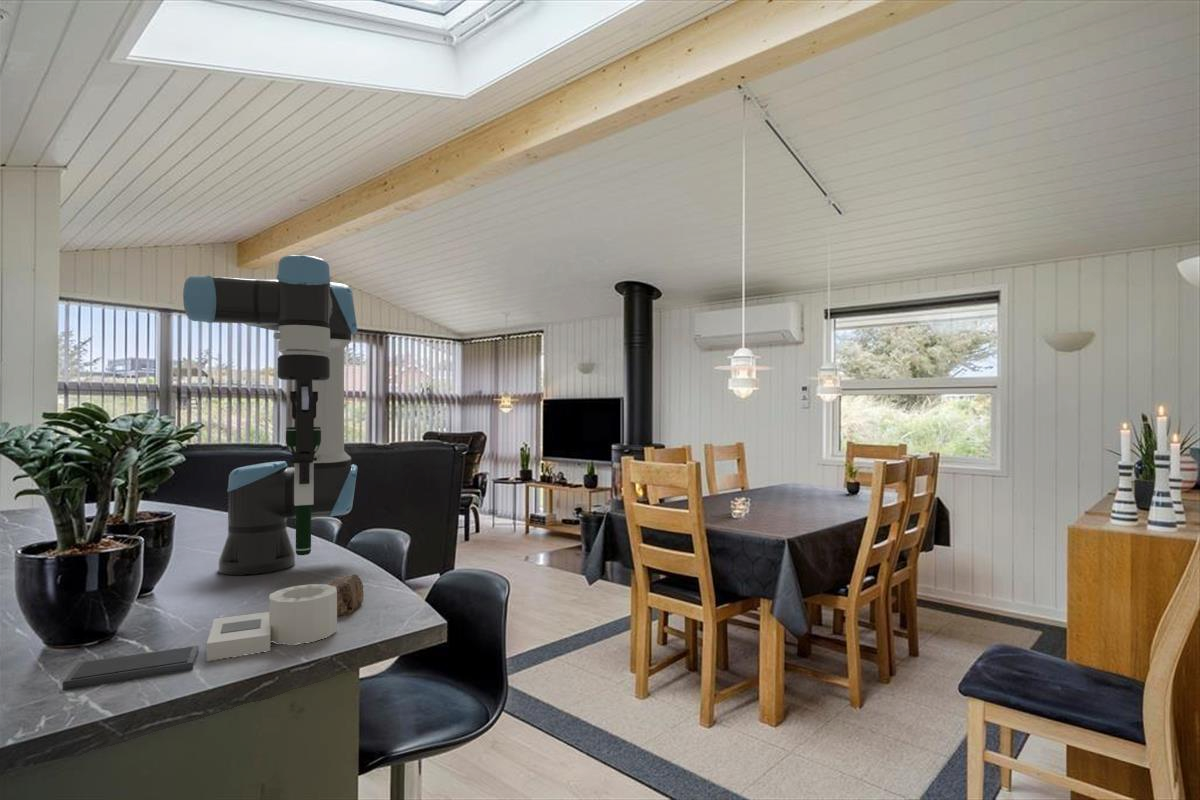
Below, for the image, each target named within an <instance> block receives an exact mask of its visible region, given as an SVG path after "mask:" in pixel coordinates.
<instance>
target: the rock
mask: <svg viewBox="0 0 1200 800" xmlns="http://www.w3.org/2000/svg"><path fill="white" fill-rule="evenodd" d="M327 585H331V586H335V587H336V589H337V617H338V615H341V616H344V615H343V614H347V615H350V614H351V613H353V612H354V611H355V610H357V608H359V606H361V604H362V601H363V598H364V585H363V580H362V578H361V577H359V575H358V574H357V573H352V574H349V575H345V576H340V577H339V578H335V579H334V580H332V581H331V582H329V583H328V584H327ZM354 609H355V610H354ZM353 610H354V611H353ZM349 613H350V614H349Z"/></svg>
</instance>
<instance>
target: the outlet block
mask: <svg viewBox="0 0 1200 800" xmlns="http://www.w3.org/2000/svg"><path fill="white" fill-rule="evenodd" d="M268 600H269V602H268V603H269V611H265V612H258V613H250V614H241V615H234V616H226V617H219V618H218V617H217V618H214V619H213V623H212V626H211V629H210V632H209V634H208V638H207V641H206V662H211V661H210V660H213V661H218V660H217V659H219V660H224V659H223V658H226V659H230V658H229V657H232V658H235V657H234V656H239V657H241V656H240V655H244V654H251V653H257V652H264V651H270V652H271V647H270V646H271V645H272V642H271V641H274V642H276V643H278V644H284V643H285V644H297V643H306V642H313V643H315V642H314V641H317V640H320V639H323V640H325V639H324V638H326V639H328V638H327V637H329V636H330V635H332V634H333V633H334V634H336V633H337V632H338V616H337V589H336V587H335V586H331V585H328V584H324V583H322V584H321V583H318V584H317V583H311V584H301V585H293V586H290V587H285V588H282V589H278V590H276V591H274V592H272V593H269V599H268ZM336 631H337V632H336ZM335 632H336V633H335ZM334 634H333V635H334ZM333 635H332V636H333ZM330 637H331V636H330ZM330 637H329V638H330ZM320 641H321V640H320ZM317 642H318V641H317ZM278 644H277V645H278Z"/></svg>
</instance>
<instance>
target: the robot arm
mask: <svg viewBox="0 0 1200 800" xmlns="http://www.w3.org/2000/svg"><path fill="white" fill-rule="evenodd" d="M277 267H278V268H277V275H276V279H254V278H253V279H252V278H251V279H250V278H242V277H241V278H240V277H239V278H237V277H226V276H225V277H224V276H211V275H205V276H204V275H203V276H202V275H198V276H197V275H192V276H189V277H187V279H186V280H185V282H184V284H183V291H182V294H183V295H182V300H183V309H184V312H185V315H186V317H187V318H188V319H189V320H190V321H192V322H202V323H208V324H211V323H215V324H216V323H217V324H218V323H220V324H222V323H223V324H244V325H246V326H249V327H256V328H259V329H265V330H270V331H275V332H274V333H273V339H276V340H278V341H277V351H278V352H279V353H281V354H282V355H279V356H278V357H277V378H278V379H279V380H283V381H295V391H294V390H293V391H290V392H289V393H290V394H289V398H290V399H289V400H290V401H289V402H290V403H291V417H292V419H293V420H294V427H295V428H296V454H295V457H294V456H293V459H290V460H289V461H290V462H289V463H290V464H293V466H290V467H288V463H287V461H286V460H280V461H270V462H263V463H256V464H250V465H245V466H241V467H237V468H234V469H232V471H230V473H229V475H228V484H227V485H228V487H227V491H226V492H227V501H228V502H227V520H228V521H227V525H228V527H227V528H228V529H227V537H226V540H225V543H224V545H223V549H222V552H221V554H220V557H219V560H218V572H219V573H220V574H224V575H230V576H244V575H245V574H251V575H260V574H259V573H261V574H267V573H273V572H278V571H280V570H281V571H282V570H286V569H288V568H290V567H292V566H294V565H295V563H296V552H295V550H294V547H293V545H292V542H291V540H290V539H291V538H290V537H289V533H288V530H287V520H288V519H296V506H298V505H311V518H316V517H318V518H319V517H328V518H331V517H334V516H335V517H336V516H345V515H347V514H349V513H350V512H351V511H352V509H353V503H354V497H355V490H356V482H357V481H356V480H357V475H358V474H357V473H358V466H357V465H356V464H354V463H353V464H352V456H351V455H349V454H348V453H347V452H346V451H345V348H346V347H347V346H349V344H351V342H352V335H354V336H355V335H356V334H358V326H357V320H356V319H357V318H356V311H355V304H354V297H353V290H352V288H351V287H350V286H349V285H347V284H346V283H340V282H339V283H338V282H331V276H330V265H329V263H328V261H326V260H325V259H323V258H321V257H317V256H311V255H299V254H293V255H292V254H291V255H285V256H282V257H281V258H280V259H279V261H278V266H277ZM276 331H277V332H276ZM314 427H320V428H321V429H320V430H321V443H320V446H319V448H318V450H317V452H316V453H315V454H314ZM245 576H246V575H245Z"/></svg>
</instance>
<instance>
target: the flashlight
mask: <svg viewBox="0 0 1200 800" xmlns="http://www.w3.org/2000/svg"><path fill="white" fill-rule="evenodd" d="M320 429H321V428H320V427H314V454H315V453H316V452H317V450H318V448H319V446H320V443H321V430H320ZM285 430H286V431H285V444H286V446H287V449H288V451H289V452H290V454H291V455H292V456H293V458H294V457H295V454H296V428H295V426H292V427H291V426H290V427H289V426H288V427H286V429H285ZM311 551H312V517H311V505H298V506H296V518H295V555H297V556H307V555H310V554H311Z"/></svg>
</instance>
